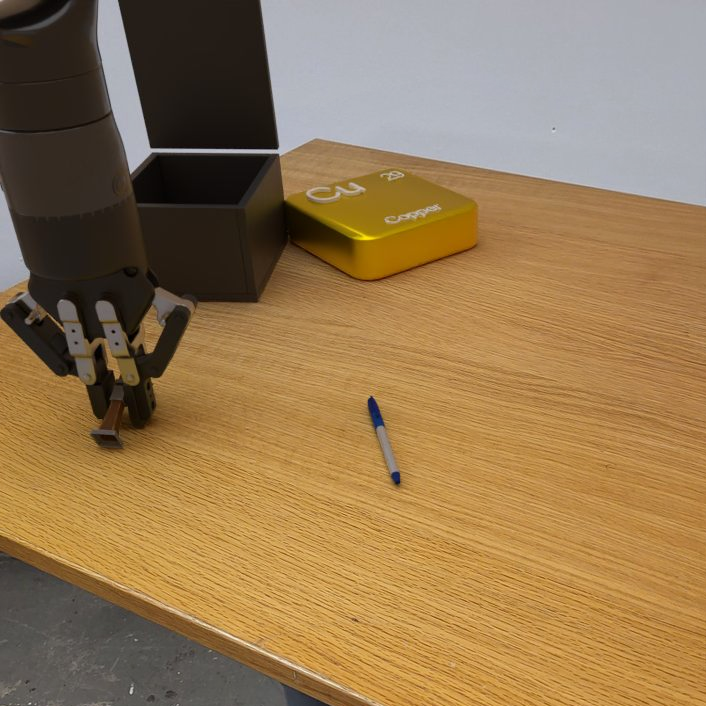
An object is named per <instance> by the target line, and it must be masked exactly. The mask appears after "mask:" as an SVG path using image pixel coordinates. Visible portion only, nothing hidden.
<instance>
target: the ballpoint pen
mask: <svg viewBox="0 0 706 706" xmlns="http://www.w3.org/2000/svg"><path fill="white" fill-rule="evenodd" d="M366 402H367V408H368V411H369V413H370V418H371V421H372V424H373V427H374V430H375V432H376V434H377V437H378V440H379V444H380V446H381V451H382V453H383V456H384V459H385V461H386V465H387V468H388V471H389V475H390V478H391V479H392V481H393V483H394V484H395V485H400V484H401V483H402V482H401V472H400V469H399V466H398V463H397V459H396V457H395V453H394V451H393V448H392V444H391V441H390V438H389V436H388V433H387V430H386V425H385V422H384V419H383V416H382V413H381V410H380V408H379V405H378V403H377V401H376V399H375V397H374V396H373V395H370V396H369V398H368V399H367V401H366Z"/></svg>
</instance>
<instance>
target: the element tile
mask: <svg viewBox="0 0 706 706" xmlns="http://www.w3.org/2000/svg"><path fill="white" fill-rule="evenodd" d="M284 200H285V209H286V218H287V227H288V235H289V241H291V243H293V244H294V245H296V246H298V247H300V248H302V249H304V250H305V251H307V252H308V253H311V254H312V255H313V256H316V257H317V258H319V259H321V260H323V261H324V262H326V263H328V264H330V265H331V266H333V267H334V268H336V269H337V270H340V271H342V272H343V273H345V274H347V275H348V276H350V277H352V278H354V279H356V280H361V281H376V280H379V279H385V278H388V277H390V276H393V275H395V274H399V273H403V272H405V271H408V270H410V269H414V268H417V267H420V266H422V265H425V264H428V263H431V262H434V261H437V260H440V259H443V258H446V257H449V256H453V255H455V254H457V253H461V252H464V251H466V250H469V249H471V248H473V247H474V246H475V245H477V244H478V239H479V203H478V202H477V201H476V200H474V199H473V198H470V197H468V196H467V195H464V194H462V193H460V192H457V191H454V190H452V189H450V188H447V187H445V186H442V185H440V184H438V183H435V182H433V181H430V180H428V179H426V178H423V177H421V176H418V175H417V174H413V173H412V172H410V171H407V170H403V169H400V168H396V167H394V168H387V169H383V170H379V171H376V172H372V173H369V174H364V175H360V176H357V177H353V178H349V179H346V180H345V179H344V180H342V181H338V182H335V183H334V182H333V183H331V184H330V183H329V184H326V185H323V186H319V187H313V188H310V189H308V190H304V191H301V192H297V193H293V194H289V195H287V196H286V198H285V199H284Z"/></svg>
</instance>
